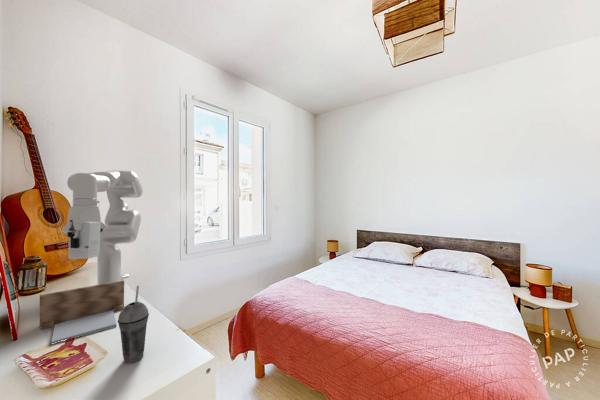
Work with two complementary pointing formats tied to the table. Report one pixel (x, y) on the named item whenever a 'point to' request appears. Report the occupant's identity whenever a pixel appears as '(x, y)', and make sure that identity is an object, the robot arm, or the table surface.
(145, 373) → the table surface
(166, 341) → the table surface
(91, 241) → the skincare box
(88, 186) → the robot arm
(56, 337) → the mat
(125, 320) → the beverage cup
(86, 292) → the walnut screen
